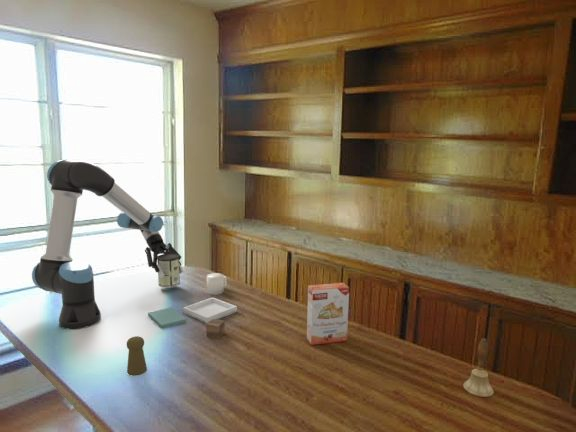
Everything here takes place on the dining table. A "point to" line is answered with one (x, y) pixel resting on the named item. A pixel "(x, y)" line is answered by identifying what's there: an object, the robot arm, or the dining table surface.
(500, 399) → the dining table surface
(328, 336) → the cracker box
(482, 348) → the hand bell
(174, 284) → the coffee can
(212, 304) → the tray
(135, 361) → the cork
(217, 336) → the walnut block
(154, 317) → the teal notebook
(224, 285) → the mug
